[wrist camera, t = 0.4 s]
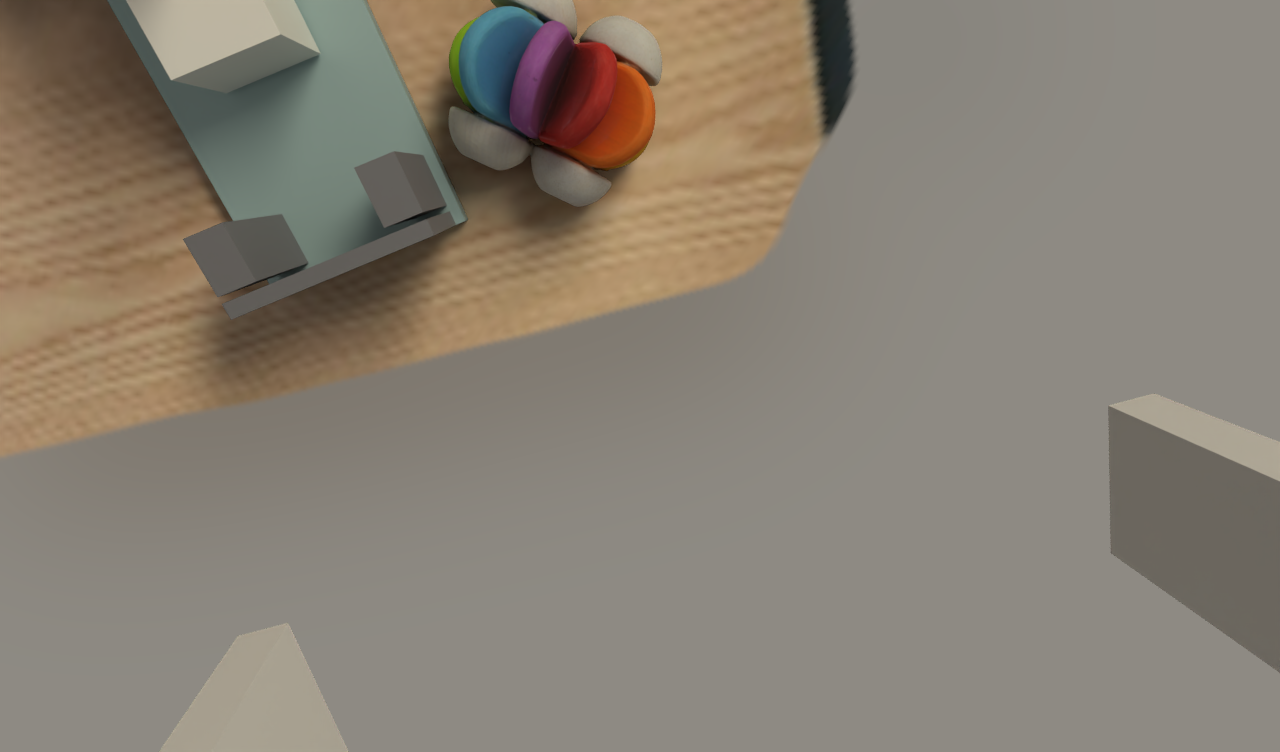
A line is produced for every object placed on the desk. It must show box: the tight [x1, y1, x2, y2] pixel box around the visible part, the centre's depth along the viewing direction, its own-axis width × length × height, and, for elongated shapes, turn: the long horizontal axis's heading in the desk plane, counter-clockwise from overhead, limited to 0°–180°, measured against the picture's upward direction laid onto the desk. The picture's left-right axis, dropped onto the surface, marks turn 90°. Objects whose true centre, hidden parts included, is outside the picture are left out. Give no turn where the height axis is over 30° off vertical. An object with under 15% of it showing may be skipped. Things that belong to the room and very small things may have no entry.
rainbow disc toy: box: [449, 0, 662, 207], centre depth 30 cm, size 8×10×7 cm
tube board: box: [107, 0, 468, 320], centre depth 28 cm, size 22×10×8 cm, turn 22°
